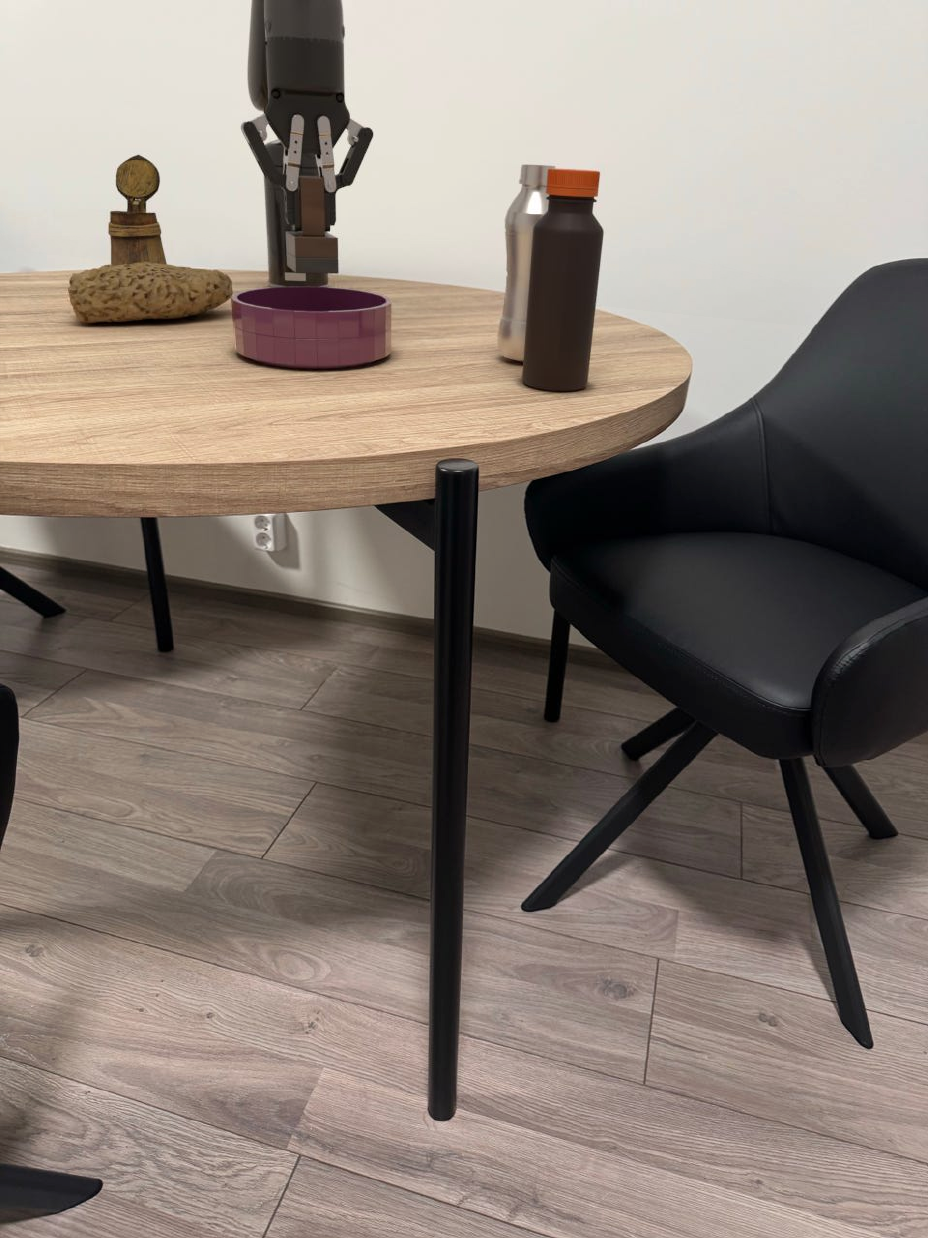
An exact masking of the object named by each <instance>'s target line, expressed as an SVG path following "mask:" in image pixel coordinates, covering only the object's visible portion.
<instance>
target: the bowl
mask: <svg viewBox="0 0 928 1238" xmlns="http://www.w3.org/2000/svg"><path fill="white" fill-rule="evenodd" d="M230 307H231V320H232V334H233V335H232V336H233V347H234V348H233V349H234V350H235V352H236V353H238V354H239V355H240V356H243V357H245V358H249V359H251V360H252V361H255V362H258V363H259V364H260V363H261V364H265V365H270V366H273V367H280V368H289V369H302V370H303V369H304V370H332V369H333V370H334V369H336V370H337V369H346V368H347V369H348V368H354V367H355V368H356V367H360V366H365V365H369V364H372V363H374V362H376V361H378V360H381V359H384V358H386V357H387V356H389V355H390V354H391V353H392V309H393V308H392V307H393V306H392V299H391V298H390V297H388V296H387V295H384V294H381V293H377V292H372V291H368V290H363V289H354V288H348V287H347V288H346V287H335V286H329V287H318V286H281V287H269V286H268V287H267V286H266V287H257V288H251V289H243V290H241V291H237V292H235V293H233V294H232V296H231V298H230Z"/></svg>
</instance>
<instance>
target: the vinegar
mask: <svg viewBox="0 0 928 1238" xmlns="http://www.w3.org/2000/svg"><path fill="white" fill-rule="evenodd" d="M600 179H601V171H599V170H591V169H590V170H589V169H576V168H575V169H573V168H555V169H552V168H550V169H548V174H547V186H546V194H549V196H548V197H546V199H547V200H549V203H548V211H547V212H546V213H545V214H544V215H543V217H542V218H541V219H540V220H539V221H538V222H537V223H536V224H535V226H534V228H533V239H532V252H531V266H530V279H529V292H528V305H527V319H526V332H525V345H524V358H523V362H522V372H521V373H522V374H521V380H522V382H523V383H524V384H525V385H526V386H528V387H530V388H534V389H538V390H542V391H551V392H573V391H579V390H582V389H584V388H585V387H586V386H587V384H588V382H589V381H588V380H589V372H590V362H591V353H592V345H593V344H592V343H593V335H594V325H595V316H596V307H597V299H598V288H599V279H600V273H601V272H600V271H601V261H602V253H603V252H602V251H603V245H604V244H603V242H604V234H605V232H604V228H603V226H602V225H601V223H600V222H599V220H598V219H597V218H596V216H595V214H594V203H597V201H598V200H597V199H596V198H597V197H598V196H599V188H600Z"/></svg>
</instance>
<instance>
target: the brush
mask: <svg viewBox="0 0 928 1238" xmlns="http://www.w3.org/2000/svg"><path fill="white" fill-rule="evenodd" d="M298 192H300V204H301V231H298V232H289V231H286V249H287V266H288V267H289V268H291V269H292V270H293V271H294V272H295V273H328V274H339V268H340V267H339V238H338V237H337V236H334V235H333V234H331V233H330V232H328V233H327V232H325V211H324V178H321V177H316V176H299V179H298Z"/></svg>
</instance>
